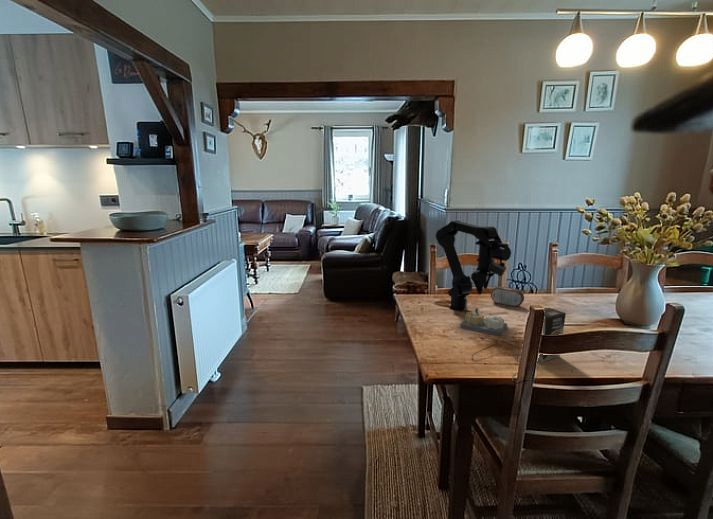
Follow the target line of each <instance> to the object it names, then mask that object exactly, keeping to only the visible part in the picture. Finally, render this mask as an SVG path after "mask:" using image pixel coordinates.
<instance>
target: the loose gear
mask: <svg viewBox="0 0 713 519" xmlns="http://www.w3.org/2000/svg"><path fill="white" fill-rule="evenodd" d="M494 316H496V315H487V316H485V317H484V319H485V326H488V328H494V329H502V328H503V327H504V323H505V318H502V316H496V317H497V320H493V317H494Z"/></svg>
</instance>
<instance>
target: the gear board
mask: <svg viewBox="0 0 713 519" xmlns="http://www.w3.org/2000/svg"><path fill="white" fill-rule="evenodd" d="M493 316H494V317H493V320H497V317H498V316H497V317H496V315H493ZM507 327H508V323H506V322H504V327H503V328H502V329H494V328H488V326H485V314H482V313H481V312H479V308H477V307H475V310H474V311H467V312H466V313H465V319H463V321H462V322H461V323H460V328H461V329H467V330H472V331H476V332H481V333H485V334H489V335H494V336H499V337H502V335H503V334H504V332H505V331H506V329H507Z"/></svg>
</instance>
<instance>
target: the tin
mask: <svg viewBox="0 0 713 519" xmlns="http://www.w3.org/2000/svg"><path fill="white" fill-rule="evenodd" d="M490 297H491V300H492V301H493V302H494V303H495V304H498V303H499V304H498V305H503V304H504V305H505V306H508V305H509V307H519V306H521V305H522V304H523V302H524V300H525V294H524V293H523V291H521V290H520V289H517V288H512V287H507V286H506V287H505V286H499V285H498V286H495V287H494V288H492V289H491V292H490ZM504 305H503V306H504Z"/></svg>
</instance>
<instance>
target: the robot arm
mask: <svg viewBox="0 0 713 519" xmlns="http://www.w3.org/2000/svg"><path fill="white" fill-rule="evenodd" d="M459 232H461V233H464V234H466V235H467V234H468V235H470V236H471V235H472V236H474V237H475V239H477V241H476V242H475V245H476V246H477V245H478V246H479V247H478V257H477V258H476V261H477V267H476V268H475V271H473V273H471V275H466V274H465V273H464V271H463V268H462V265H461V263H460V259H459V255H458V253H457V250H456V247H455V241H456V237H455V236H456V235H457V234H458V233H459ZM435 239H436V241H437V243H438V244H439V245H440V246H441V247H442V248H443V251H444V253H445V257H446V260H447V262H448V265H449V268H450V269H449V270H450V271H451V275H452V281H451V286H452V287H451V288H450V289H448V291H447V292H448V296H449V297H450V306H449V309H450V310H456V311H461V312H463V311H465V309H467V306H468V299H467V297H468V296H470V294H471V292H472V290H473V284H474V287H475V288H476V291H477V295H482V292H483V289H484V290H487V289H488V285H489V283H490V280H491V278H492V277H493V276H494V275H495V274H496V275H497V276H499V277H502V276H503V275H504V274H505V272H506V271H507V266H506V263H505V262H507V261H509V259H510V258H511V256H512V251H511V248H510V247H509V243H503V242H502V240H501V239H502V238H500V235H499V233H498V231H497V227H495V226H486V225H485V226H481V225H480V226H478V225H475V224H472V223H467V222H463V221H460V220H451V221H450V222H449V223H447V224H446V225H445V226H442V227H441V228H440V229H438V230H437V231H436V233H435ZM495 260H499V261H501V262H500V263H498V262H495ZM472 281H473V282H472Z"/></svg>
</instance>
